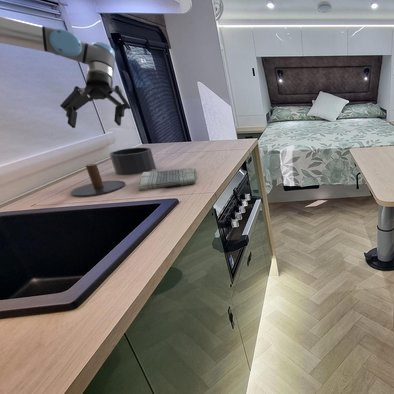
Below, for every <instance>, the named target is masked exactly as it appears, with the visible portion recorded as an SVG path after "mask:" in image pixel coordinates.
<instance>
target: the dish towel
mask: <svg viewBox="0 0 394 394" xmlns="http://www.w3.org/2000/svg"><path fill="white" fill-rule="evenodd" d="M196 183H197V168H194V167H188V168H186V167H185V168H178V169H177V168H176V169H167V170H166V169H165V170H155V171H148V172H143V173H141V177H140V181H139V185H138V187H137V188H138V191H139V192H144V191H151V190H158V189H166V188H167V189H168V188H173V187H174V188H175V187H181V186H188V185H193V184H196Z"/></svg>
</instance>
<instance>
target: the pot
mask: <svg viewBox="0 0 394 394" xmlns="http://www.w3.org/2000/svg"><path fill="white" fill-rule="evenodd" d="M153 155H154V154H153V151H152V148H151V147H142V146H141V147H131V148H130V147H128V148H123V149H118V150H114V151H111V152H110V153H109V157H110V159H111V163H112V165H113V169H114V172H115V174H116V175H118V176H119V175H120V176H131V175H138V174H142V173H143V172H152V171H153V170H155V171H156V169H157V168H156V163H155V159H154V156H153Z"/></svg>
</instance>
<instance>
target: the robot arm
mask: <svg viewBox="0 0 394 394" xmlns="http://www.w3.org/2000/svg"><path fill="white" fill-rule="evenodd" d="M0 44H3V45H10V46H14V47H20V48H25V49H31V50H36V51H41V52H47V53H50V54H54V55H55V56H60V57H62V58H65V59H68V60H72V61H75V62H78V63H81V64H84V65H87V72H86V77H85V86H84V88H83V87H79V86H78V85H75V86H74V88H73V90H72V92H71V93H70V94H69V95H68V96H67V97H66V98H65V99H64V100H63V102H62V103H60V105H59V106H60V108H61V109H63V110H64V111H65V112H66V114H65V116H66V118H67V124H68V125H69V126H70V127H71V128H72V129H76V125H77V118H78V112H77V111H78V110H80V108H82V107H83V106H85V105H86V104H88V102H92V101H97V100H105V99H107V100H108V101H109V102H111V103H112V104H114V105H115V106H114V107H115V109H114V122H115V123H116V125H117V126H119V127H120V126H122V118H123V117H124V116H125V111H126V110H131V109H132V106H131V105H130V103H129V102H128V101H127V100H126V98H125V96H124V94H123V90H122V89H121V88H120V86H119V85H115V86H114V85H113V84H114V73H115V65H116V53H115V50H114V49H113V48H112V46H110V45H109V44H108V43H105V42H103V41H100V42H99V41H93V42H91V44H90V43H87V42H84V41H81V40H80V38H79V37H78V36H77V35H76V34H74V33H73V32H71V31H69V30H67V29H61V28H60V29H59V28H57V29H56V28H53V27H48V26H44V25H40V24H35V23H31V22H27V21H23V20H19V19H14V18H10V17H6V16H2V15H0ZM113 86H114V87H113ZM113 93H115V94H116V95H118V97H119V99H120V100H121V101H122V102H120V101H119V100H117V99H116V98H115V97H114V96H112V94H113Z"/></svg>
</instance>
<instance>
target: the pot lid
mask: <svg viewBox="0 0 394 394" xmlns="http://www.w3.org/2000/svg"><path fill="white" fill-rule="evenodd" d="M85 168H86V169H85V170H86V171H87V174H88V176H89V179H90V182H91V183H88V184H84V185H81V186H78V187H76V188H73V189H72V190H71V191H70V195H71V196H72V197H76V198H85V197H86V198H87V197H88V198H89V197H94V196H95V197H96V196H102V195H106V194H111V193H114V192H117V191H119V190H121V189H123V188H124V187H125V186H126V182H125V181H123V180H105V181H103V179H102V176H101V173H100V170H99V167H98V165H97V163H90V164H85Z"/></svg>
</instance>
